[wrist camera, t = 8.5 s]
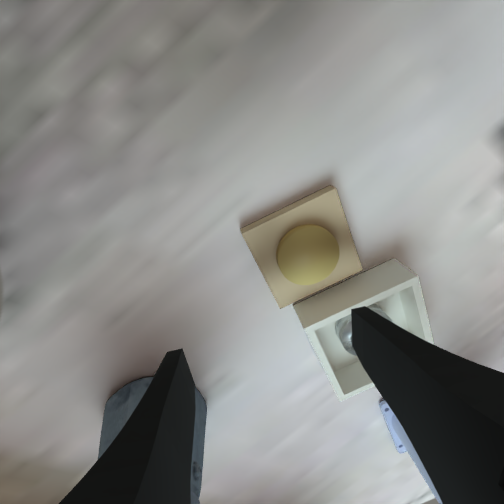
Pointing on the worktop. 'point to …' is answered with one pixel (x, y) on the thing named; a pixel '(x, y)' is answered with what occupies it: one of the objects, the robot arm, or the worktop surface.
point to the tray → (354, 296)
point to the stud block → (303, 246)
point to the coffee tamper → (345, 328)
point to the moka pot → (124, 406)
